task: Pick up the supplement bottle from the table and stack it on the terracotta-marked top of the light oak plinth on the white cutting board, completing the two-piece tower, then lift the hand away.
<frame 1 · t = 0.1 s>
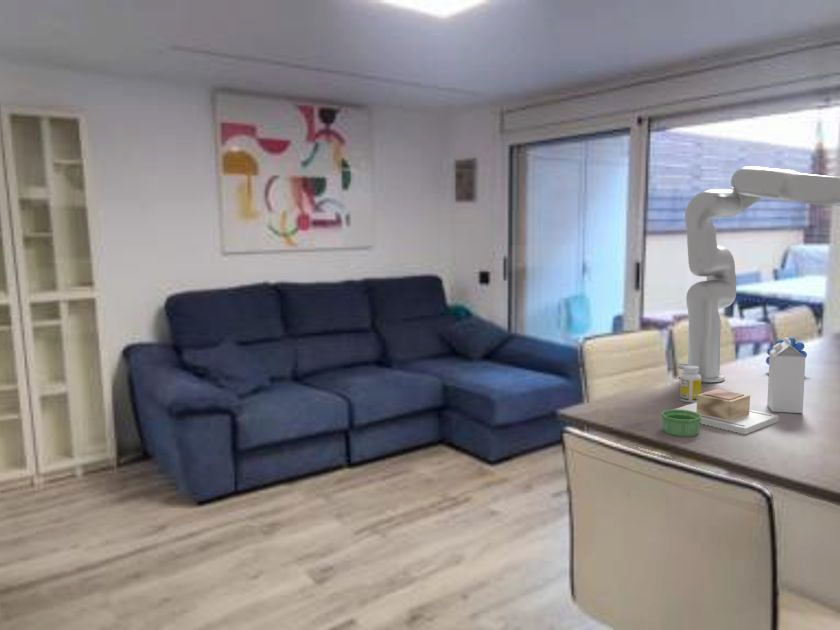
white cutting board: (722, 418, 164), on the table
oak plinth: (723, 403, 163), on the white cutting board, point 4 cm above the table
ramekin: (680, 432, 155), on the table
milk carton: (784, 410, 170), on the table
grapes: (785, 373, 212), on the table
supplement bottle: (690, 401, 181), on the table
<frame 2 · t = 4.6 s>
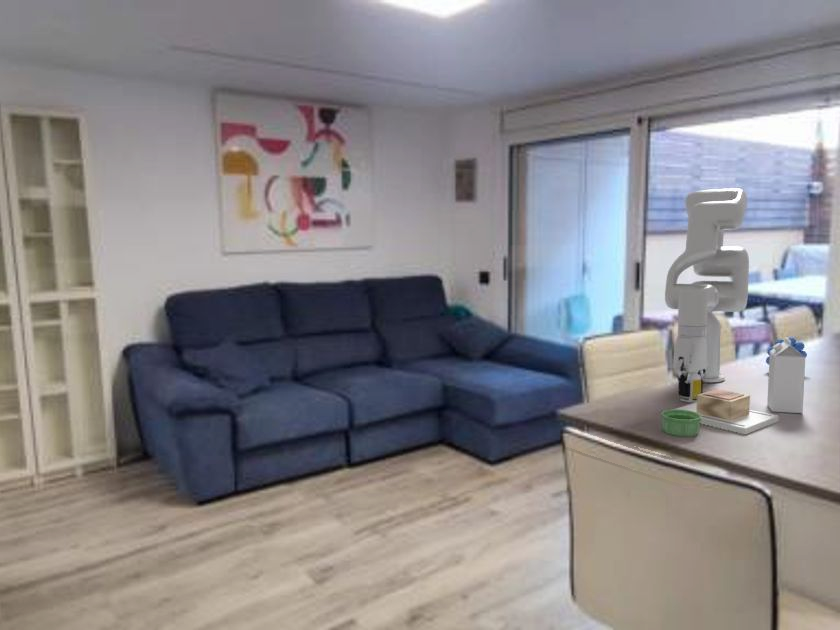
hand: (690, 393, 181), 2 cm above the table, fingers closed on supplement bottle, 5 cm apart
supplement bottle: (690, 401, 181), on the table, touching gripper
everything else where it was.
when the fingers open (10 cm above the table, at t = 10.5 s): supplement bottle drops 1 cm, resting on oak plinth.
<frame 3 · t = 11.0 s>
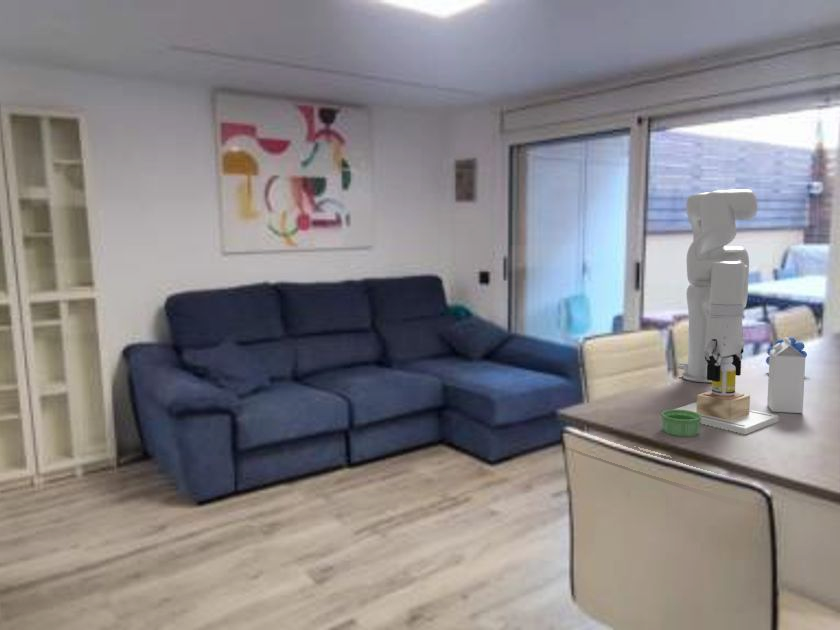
hand: (723, 377, 162), 11 cm above the table, fingers open, 9 cm apart
supplement bottle: (723, 394, 163), point 6 cm above the table, touching oak plinth
everything else where it was.
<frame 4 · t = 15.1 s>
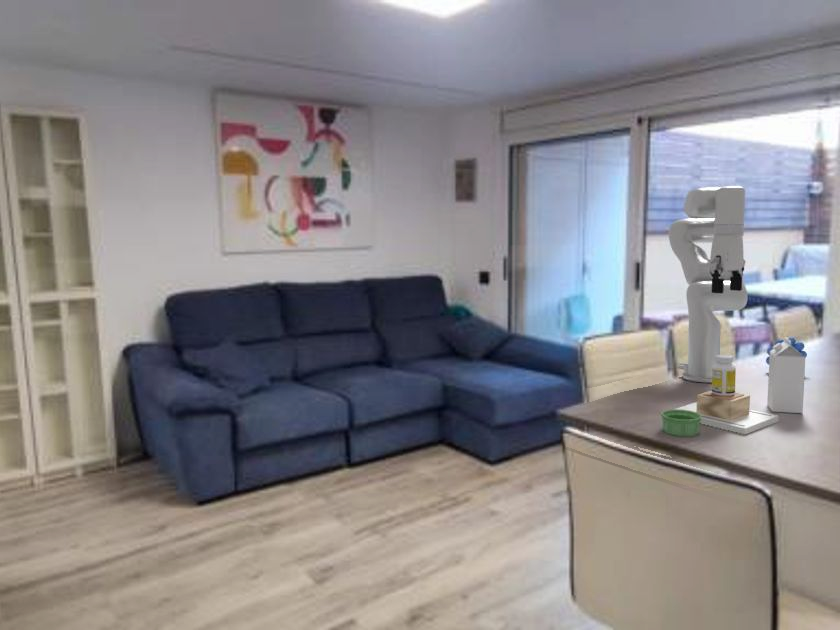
hand: (726, 291, 182), 30 cm above the table, fingers open, 9 cm apart
nothing on the table moved.
at the end: supplement bottle 0.1 cm off-centre on the oak plinth, point 6.3 cm above the oak plinth's base; supplement bottle tilted 0°; the gripper is holding nothing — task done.
